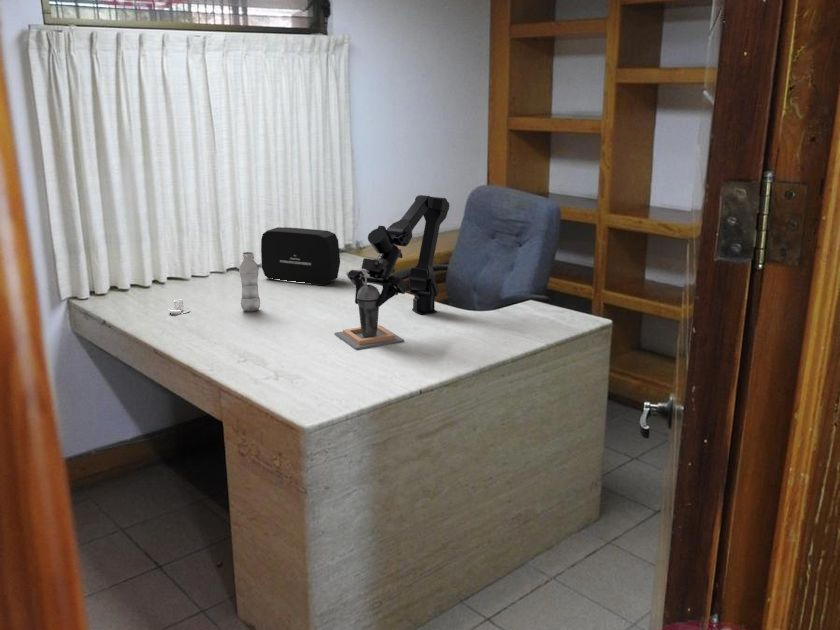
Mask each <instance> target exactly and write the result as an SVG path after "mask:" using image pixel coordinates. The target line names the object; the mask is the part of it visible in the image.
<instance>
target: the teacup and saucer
mask: <svg viewBox="0 0 840 630" xmlns="http://www.w3.org/2000/svg"><path fill="white" fill-rule="evenodd" d="M173 306H174V307H173V308H175V310H170V309H169V310H170V313H171V315H184V314H183V313H184V312H183V311H184V309H183V307H184V299H179V298H178V299H175V300H173ZM181 311H182V312H181ZM180 313H181V314H180Z"/></svg>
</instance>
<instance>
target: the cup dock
mask: <svg viewBox="0 0 840 630" xmlns="http://www.w3.org/2000/svg"><path fill="white" fill-rule="evenodd" d="M334 335H335V336H336V337H337V338H339V339H340V340H342V341H343V342H344V343H345V344H347V345H349V346H350V348H353V349H354V350H356V351H357V350H364V349H369V348H375V347H382V346H387V345H392V344H394V345H395V344H399V343H404V342H405V339H404V338H402V337H401V336H399V335H397V334H395V333H394V332H392V331H391V330H389V329H387V328H385V326H382V325H379V324H378V326H377V335H375V336H372V337H366V336H363V335H362V331H361V326H359V327H353V328H352V327H351V328H347V329H343V330H342V331H336V332H334Z"/></svg>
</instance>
